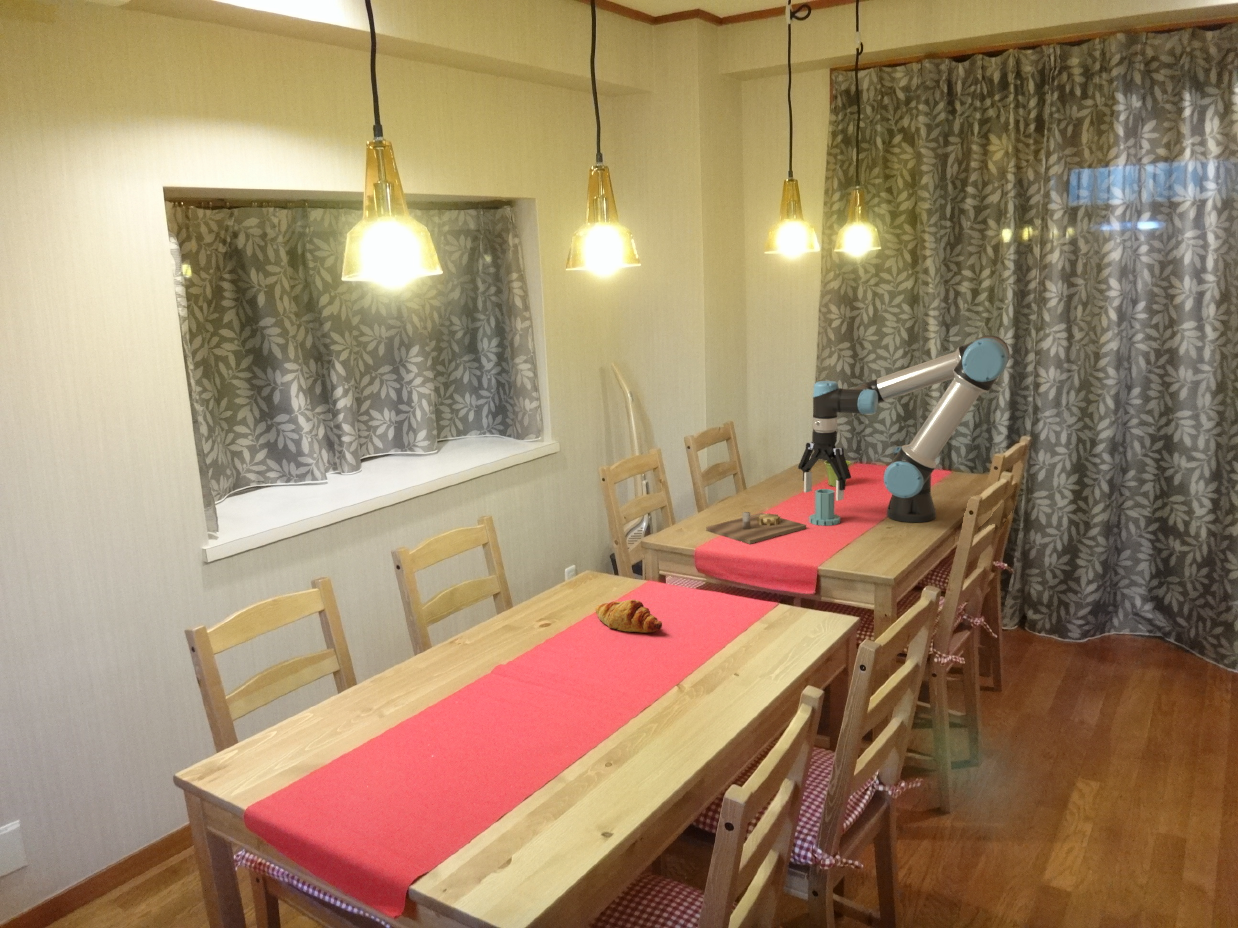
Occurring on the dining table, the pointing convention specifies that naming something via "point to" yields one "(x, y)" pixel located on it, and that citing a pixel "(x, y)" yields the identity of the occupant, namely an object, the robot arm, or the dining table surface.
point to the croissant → (628, 616)
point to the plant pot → (833, 473)
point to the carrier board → (755, 527)
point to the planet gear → (824, 508)
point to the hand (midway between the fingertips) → (823, 495)
